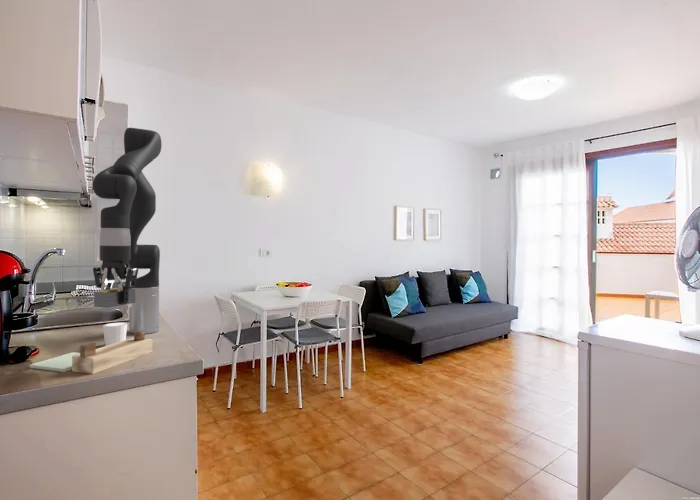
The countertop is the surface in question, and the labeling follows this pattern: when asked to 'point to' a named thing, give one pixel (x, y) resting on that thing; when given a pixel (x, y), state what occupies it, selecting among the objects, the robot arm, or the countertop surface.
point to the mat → (56, 363)
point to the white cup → (114, 332)
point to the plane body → (111, 354)
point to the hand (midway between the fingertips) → (115, 303)
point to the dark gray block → (111, 298)
